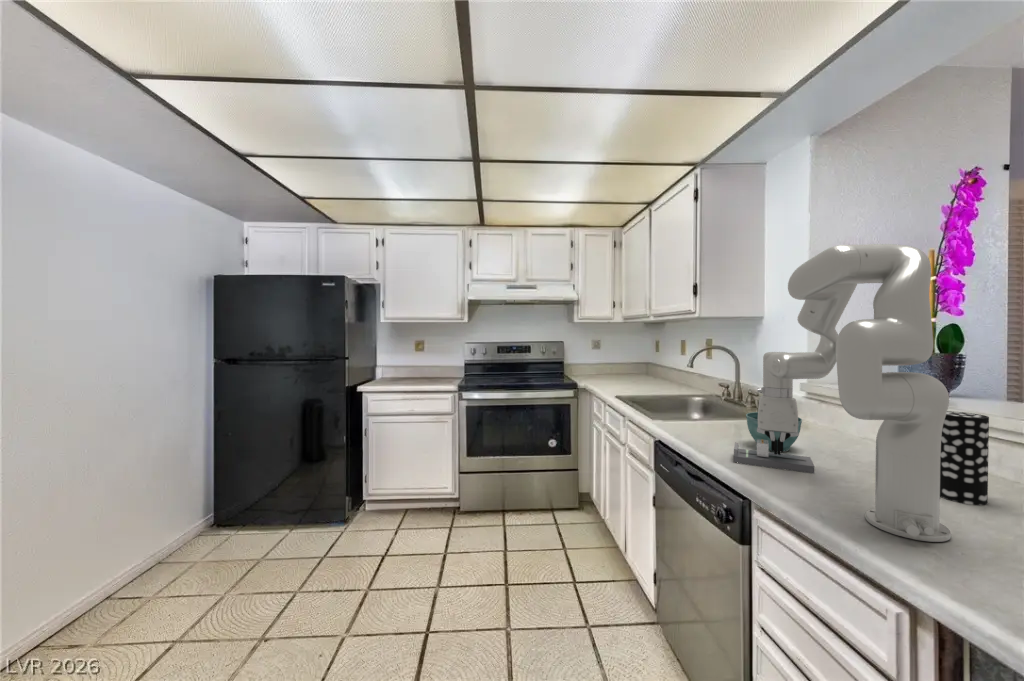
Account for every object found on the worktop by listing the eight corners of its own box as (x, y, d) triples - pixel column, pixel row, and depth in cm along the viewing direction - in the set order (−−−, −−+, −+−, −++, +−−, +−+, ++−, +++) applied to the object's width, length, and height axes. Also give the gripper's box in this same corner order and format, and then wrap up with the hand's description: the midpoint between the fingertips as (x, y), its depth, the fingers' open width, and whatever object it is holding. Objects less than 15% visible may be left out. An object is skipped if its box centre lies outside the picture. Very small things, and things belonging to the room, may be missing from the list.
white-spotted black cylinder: (930, 489, 105) (932, 410, 104) (978, 495, 100) (979, 413, 100) (943, 500, 97) (944, 416, 97) (994, 508, 93) (996, 419, 93)
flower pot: (809, 457, 131) (809, 423, 131) (752, 452, 136) (752, 420, 136) (792, 443, 147) (792, 413, 147) (741, 440, 152) (741, 411, 152)
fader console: (814, 473, 116) (814, 459, 116) (733, 462, 126) (733, 449, 126) (810, 463, 125) (810, 450, 125) (734, 454, 135) (735, 441, 135)
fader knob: (768, 457, 124) (768, 443, 124) (756, 455, 125) (756, 442, 125) (767, 453, 128) (768, 439, 128) (756, 451, 130) (756, 438, 130)
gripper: (748, 392, 125) (748, 453, 126) (809, 396, 118) (808, 460, 118) (749, 389, 132) (748, 447, 132) (806, 393, 124) (806, 453, 124)
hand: (777, 453), depth 125 cm, fingers closed
